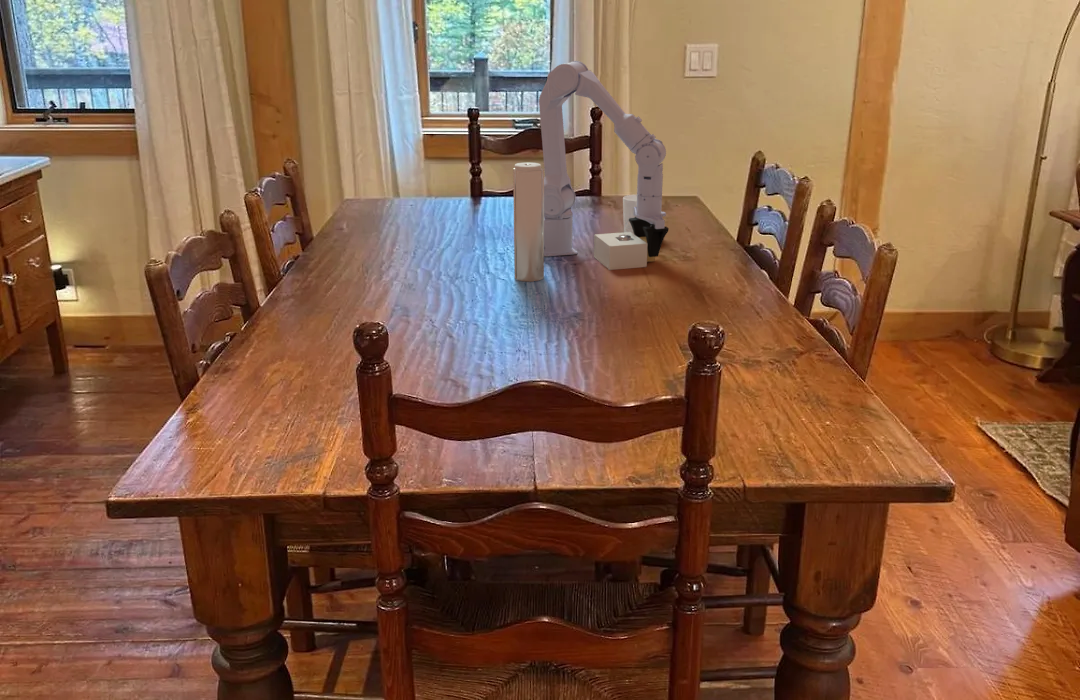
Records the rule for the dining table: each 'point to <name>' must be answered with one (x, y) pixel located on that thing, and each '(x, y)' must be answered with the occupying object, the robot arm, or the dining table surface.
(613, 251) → the housing
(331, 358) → the dining table surface
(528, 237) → the white tall cylinder
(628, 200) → the white cup
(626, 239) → the plunger
